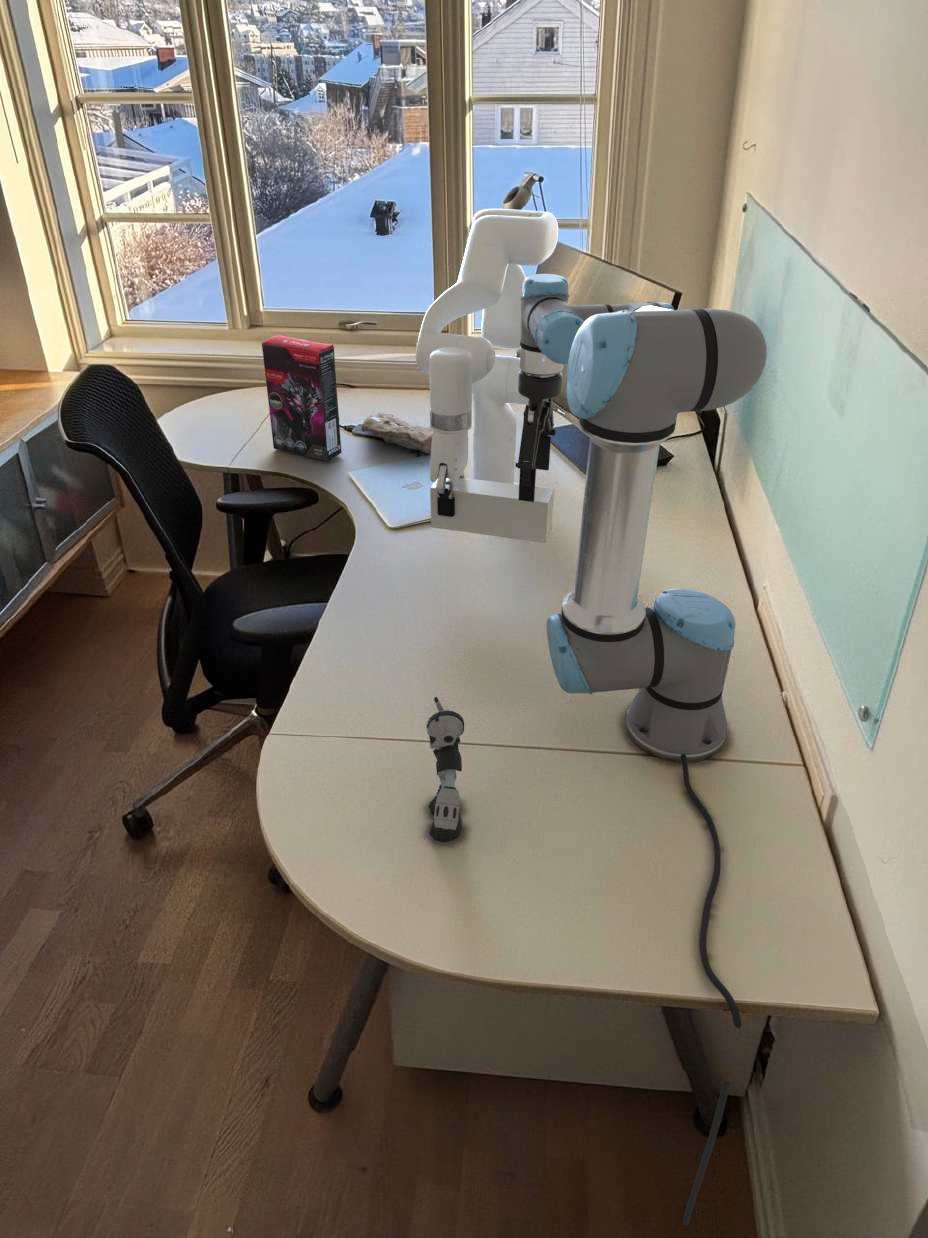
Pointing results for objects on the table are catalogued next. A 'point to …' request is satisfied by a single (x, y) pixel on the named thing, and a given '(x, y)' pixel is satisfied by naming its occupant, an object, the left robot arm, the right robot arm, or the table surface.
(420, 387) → the table surface
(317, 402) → the graphics card box
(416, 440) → the stone
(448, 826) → the robot
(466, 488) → the bar
